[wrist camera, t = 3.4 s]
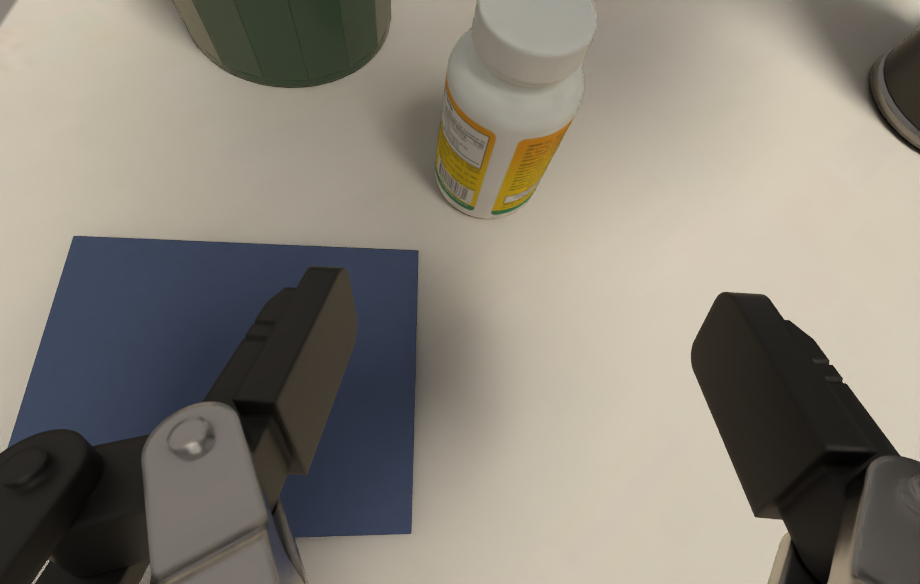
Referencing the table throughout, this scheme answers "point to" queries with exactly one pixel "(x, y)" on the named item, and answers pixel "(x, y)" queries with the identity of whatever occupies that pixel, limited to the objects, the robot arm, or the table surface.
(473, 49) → the supplement bottle
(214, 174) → the table surface
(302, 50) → the pot
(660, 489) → the table surface
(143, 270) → the flat panel
